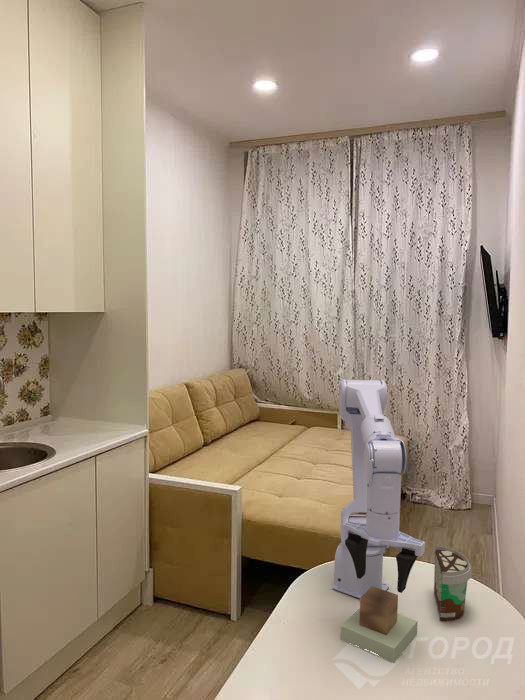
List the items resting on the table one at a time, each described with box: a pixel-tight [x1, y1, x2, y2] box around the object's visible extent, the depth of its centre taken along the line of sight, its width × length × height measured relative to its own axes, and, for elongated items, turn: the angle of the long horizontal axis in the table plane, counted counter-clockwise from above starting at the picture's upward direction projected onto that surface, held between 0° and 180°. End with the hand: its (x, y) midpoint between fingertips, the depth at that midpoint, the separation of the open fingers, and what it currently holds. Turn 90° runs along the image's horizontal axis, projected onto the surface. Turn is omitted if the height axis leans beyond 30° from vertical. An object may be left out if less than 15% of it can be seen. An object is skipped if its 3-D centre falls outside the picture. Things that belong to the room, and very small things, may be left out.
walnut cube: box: [359, 586, 399, 635], centre depth 94 cm, size 5×5×5 cm
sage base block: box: [340, 608, 418, 664], centre depth 94 cm, size 10×10×3 cm
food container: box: [433, 545, 473, 622], centre depth 103 cm, size 12×6×10 cm, turn 168°
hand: (380, 582), depth 94 cm, fingers open, 7 cm apart
